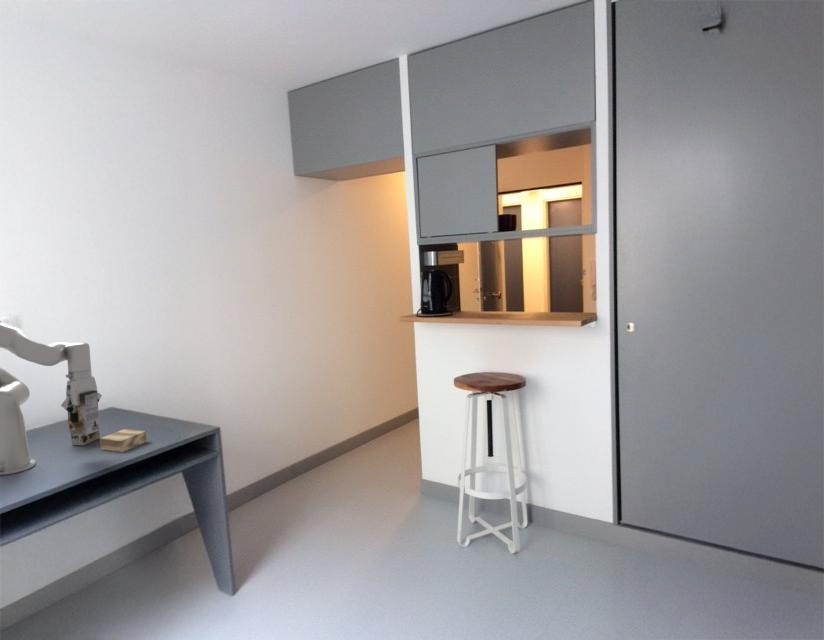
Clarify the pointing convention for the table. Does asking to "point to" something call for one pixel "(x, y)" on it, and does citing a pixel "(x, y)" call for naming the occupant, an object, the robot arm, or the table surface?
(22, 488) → the table surface
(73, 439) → the coffee box
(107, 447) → the oak block
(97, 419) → the coffee box
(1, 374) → the robot arm
